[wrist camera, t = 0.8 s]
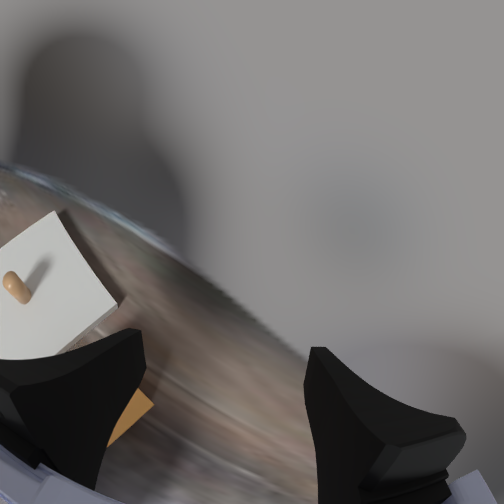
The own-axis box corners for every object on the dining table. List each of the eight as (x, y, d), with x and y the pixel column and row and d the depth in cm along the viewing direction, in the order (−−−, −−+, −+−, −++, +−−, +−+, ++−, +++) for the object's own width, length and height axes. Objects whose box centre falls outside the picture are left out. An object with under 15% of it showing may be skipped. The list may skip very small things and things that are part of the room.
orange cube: (113, 435, 16) (106, 447, 12) (72, 391, 17) (56, 391, 13) (151, 401, 19) (154, 404, 15) (111, 358, 20) (104, 350, 16)
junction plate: (15, 396, 14) (-10, 395, 10) (-36, 291, 15) (-59, 270, 11) (118, 308, 22) (114, 289, 18) (56, 218, 23) (47, 188, 19)
